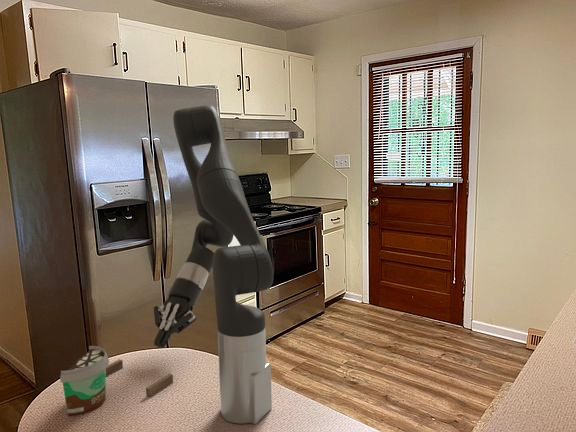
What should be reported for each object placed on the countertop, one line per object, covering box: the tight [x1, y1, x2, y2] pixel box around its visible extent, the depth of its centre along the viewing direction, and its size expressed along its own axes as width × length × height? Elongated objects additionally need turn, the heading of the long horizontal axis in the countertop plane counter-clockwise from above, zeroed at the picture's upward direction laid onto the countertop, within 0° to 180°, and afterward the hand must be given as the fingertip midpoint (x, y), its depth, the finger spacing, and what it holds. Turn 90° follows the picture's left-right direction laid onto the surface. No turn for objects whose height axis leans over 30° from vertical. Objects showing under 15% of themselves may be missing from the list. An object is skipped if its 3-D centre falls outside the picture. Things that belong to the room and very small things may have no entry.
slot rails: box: [106, 359, 174, 399], centre depth 99 cm, size 17×7×2 cm, turn 62°
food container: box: [59, 345, 110, 418], centre depth 90 cm, size 12×6×10 cm, turn 178°
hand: (158, 346), depth 106 cm, fingers closed
